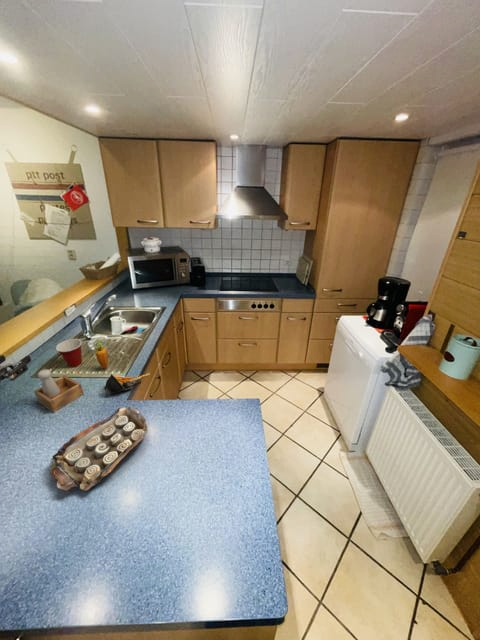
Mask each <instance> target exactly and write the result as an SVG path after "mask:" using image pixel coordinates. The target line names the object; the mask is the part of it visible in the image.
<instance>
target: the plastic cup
mask: <svg viewBox="0 0 480 640" xmlns="http://www.w3.org/2000/svg"><path fill="white" fill-rule="evenodd" d="M82 343H83V342H82V340H81V339H79V338H69V339H67V340H63V341H61V342H60V343H58V344H57V345H56V346H55V349H56V351H57V352H58V353H60V355H61V357H63V360H64V361H65V363H66V364H67V365H68V368H76V367H79V366H81V365H82V363H83V357H82Z"/></svg>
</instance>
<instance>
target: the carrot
mask: <svg viewBox="0 0 480 640" xmlns="http://www.w3.org/2000/svg"><path fill="white" fill-rule="evenodd" d="M93 349H97V350H95V356H96V360H97V362H98V364H99V366H100V367H101V368H102V369H103V370H107V368H108V365H109V356H108V352H107V351H108V350H107V349H106V348H103V343H101V342H99V341H97V346H93Z"/></svg>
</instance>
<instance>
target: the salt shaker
mask: <svg viewBox="0 0 480 640" xmlns="http://www.w3.org/2000/svg"><path fill="white" fill-rule="evenodd" d="M37 377H38V379H39V380H40V381H41V387H42V389H43V394H44V395H45V396H47V397H49V398H50V399H53V398H55V397H56V396H58V395H60V389H59V387H58V386H57V384H56V383H55V379H54V378H53V377H52V371H51V370H50V369H43V370H40V371H39V372H38V373H37Z"/></svg>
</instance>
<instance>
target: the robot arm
mask: <svg viewBox="0 0 480 640" xmlns="http://www.w3.org/2000/svg"><path fill="white" fill-rule="evenodd" d="M6 360H7V358H6V356H5V355H4V354H1V355H0V382H2V381H3V380H6V379H9V380H10V381H11V382H12V381H15V380H16V379H17V378H19V377H20V376H22V375H23V374H24V373H26V372H28V371H29V367H28V364H30V363H31V362H32V358H31V356H30V355H24V357H23V358H21V359H20V360H18V361H17V362H14V363H7V364H4V365H1V364H3V363H5V362H6ZM8 368H9V370H8Z"/></svg>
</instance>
